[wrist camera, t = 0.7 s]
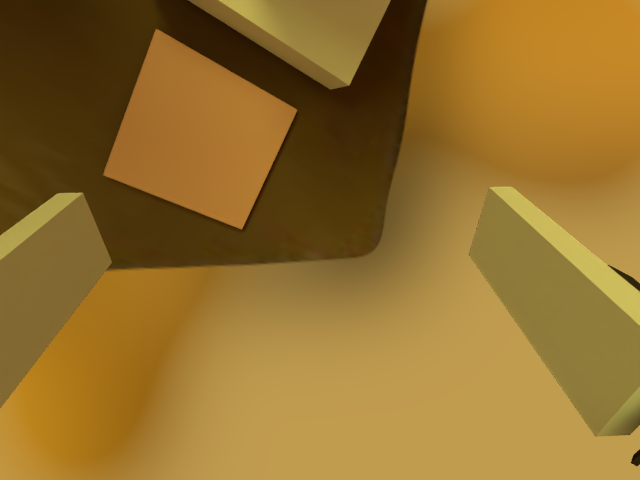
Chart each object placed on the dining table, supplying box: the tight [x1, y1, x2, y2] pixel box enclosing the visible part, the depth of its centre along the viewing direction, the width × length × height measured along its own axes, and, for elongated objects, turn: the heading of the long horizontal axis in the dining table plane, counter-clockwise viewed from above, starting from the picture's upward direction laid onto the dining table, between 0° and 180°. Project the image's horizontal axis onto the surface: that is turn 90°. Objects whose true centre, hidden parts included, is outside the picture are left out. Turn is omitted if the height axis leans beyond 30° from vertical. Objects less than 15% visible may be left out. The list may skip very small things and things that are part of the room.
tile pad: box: [103, 29, 297, 229], centre depth 29 cm, size 12×12×1 cm
